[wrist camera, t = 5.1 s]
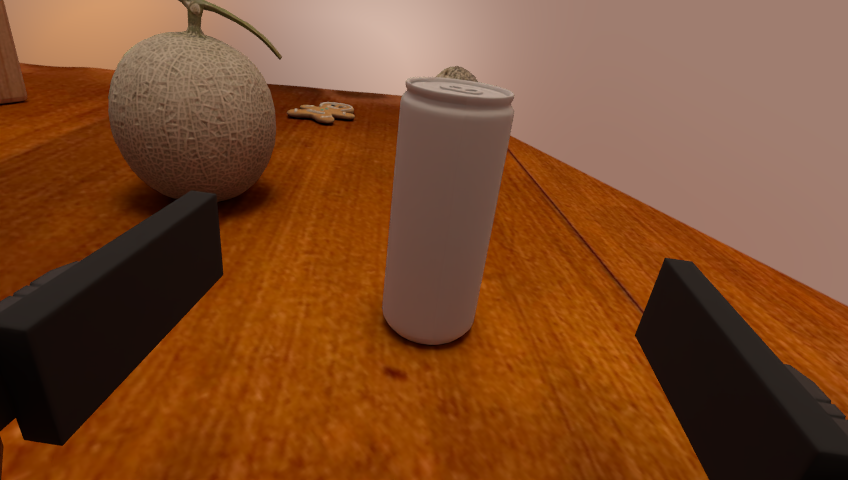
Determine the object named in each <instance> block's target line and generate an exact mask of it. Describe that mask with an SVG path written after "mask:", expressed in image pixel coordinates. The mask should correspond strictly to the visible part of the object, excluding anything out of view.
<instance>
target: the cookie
mask: <svg viewBox="0 0 848 480" xmlns="http://www.w3.org/2000/svg"><path fill="white" fill-rule="evenodd" d="M353 112H354V108H352V106H350V105H347V104H342V103H334V102H324V103H321V104H320V105H319V107H315V106H314V105H302V106H300V110H299V109H293V110H289V111H287V114H288V115H289V116H292V117H298V118H312V119H315V120H316V121H317V122H320V123H332V122H334V118H340V119H347V120H350V119H354V118H355V116H354V115H353V114H352V113H353ZM333 117H334V118H333Z"/></svg>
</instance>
